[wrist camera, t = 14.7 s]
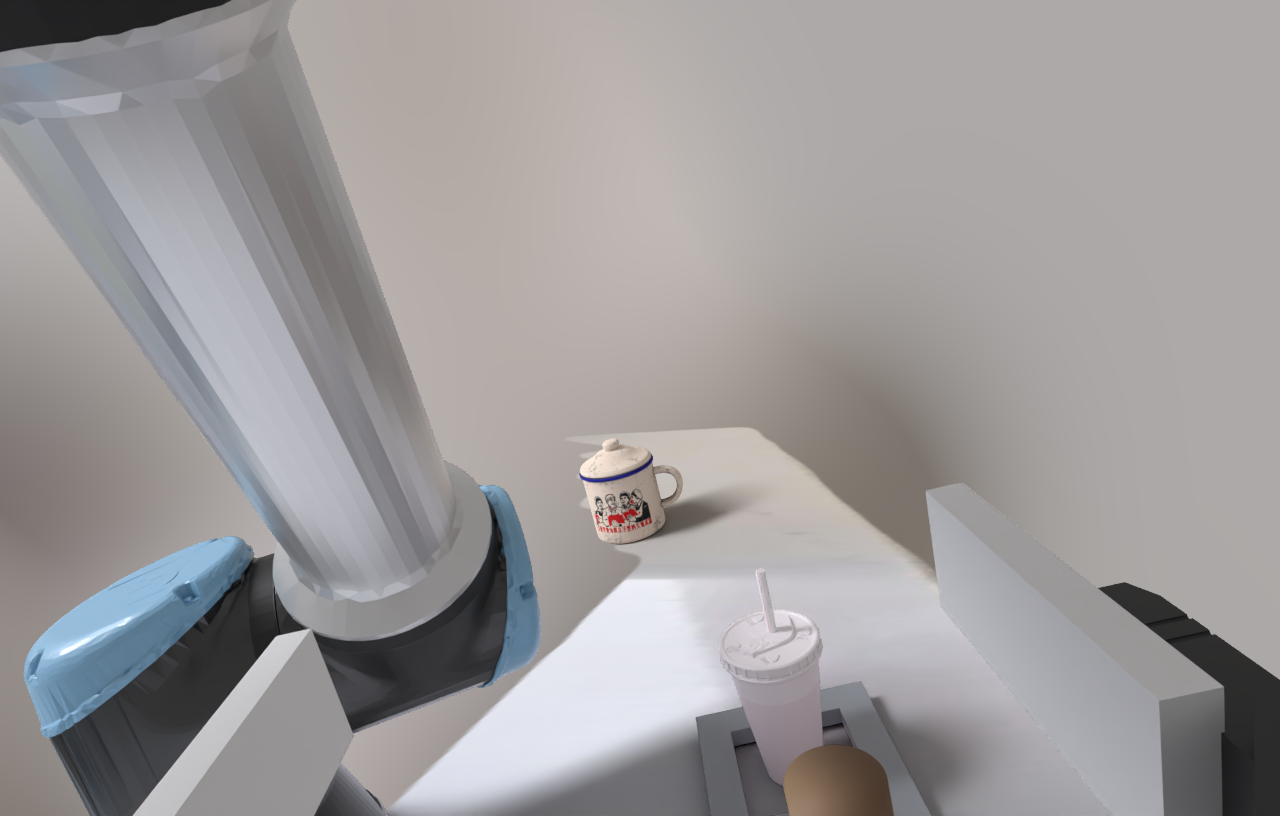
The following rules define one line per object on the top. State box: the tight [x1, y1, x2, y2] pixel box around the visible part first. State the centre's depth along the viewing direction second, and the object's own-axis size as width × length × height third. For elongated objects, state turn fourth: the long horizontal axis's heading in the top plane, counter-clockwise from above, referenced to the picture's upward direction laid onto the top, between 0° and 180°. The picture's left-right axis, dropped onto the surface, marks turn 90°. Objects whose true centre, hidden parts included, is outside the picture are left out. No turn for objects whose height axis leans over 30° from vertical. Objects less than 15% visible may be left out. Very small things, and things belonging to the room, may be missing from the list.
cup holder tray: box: [696, 681, 931, 816], centre depth 39 cm, size 12×24×13 cm, turn 2°
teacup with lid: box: [580, 439, 683, 544], centre depth 88 cm, size 12×9×12 cm
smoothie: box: [718, 569, 823, 786], centre depth 46 cm, size 6×6×14 cm
